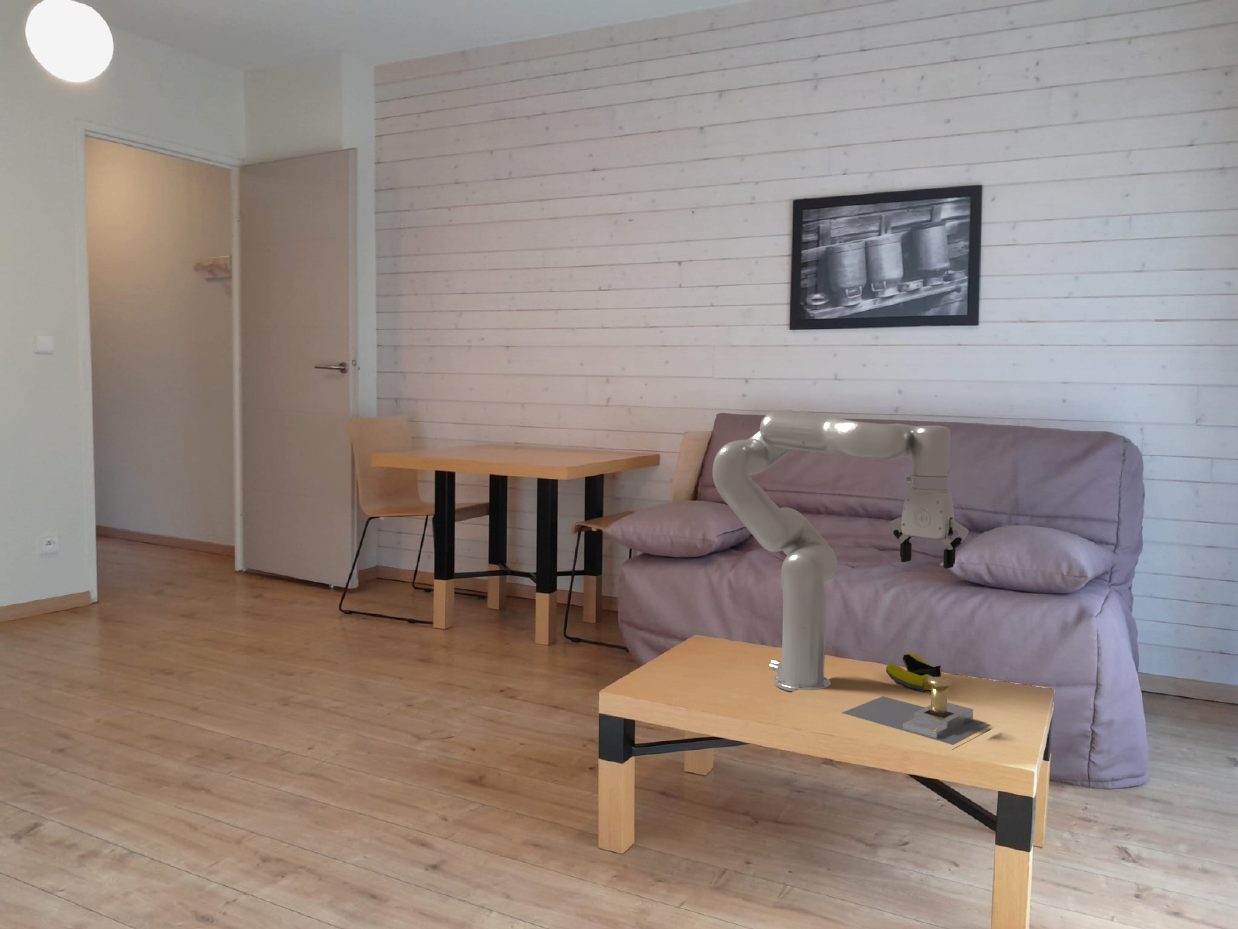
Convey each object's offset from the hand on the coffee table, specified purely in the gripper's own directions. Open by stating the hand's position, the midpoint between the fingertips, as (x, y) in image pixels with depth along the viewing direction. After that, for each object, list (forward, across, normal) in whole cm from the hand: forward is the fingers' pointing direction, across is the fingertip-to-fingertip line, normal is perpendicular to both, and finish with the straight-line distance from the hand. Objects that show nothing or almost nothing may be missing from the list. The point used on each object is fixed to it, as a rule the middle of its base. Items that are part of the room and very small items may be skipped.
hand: (926, 564), depth 201 cm
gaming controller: (+31, -8, +13) cm, 34 cm away
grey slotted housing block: (+29, +10, -12) cm, 33 cm away
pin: (+29, +10, -12) cm, 33 cm away
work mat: (+30, +5, -12) cm, 33 cm away
